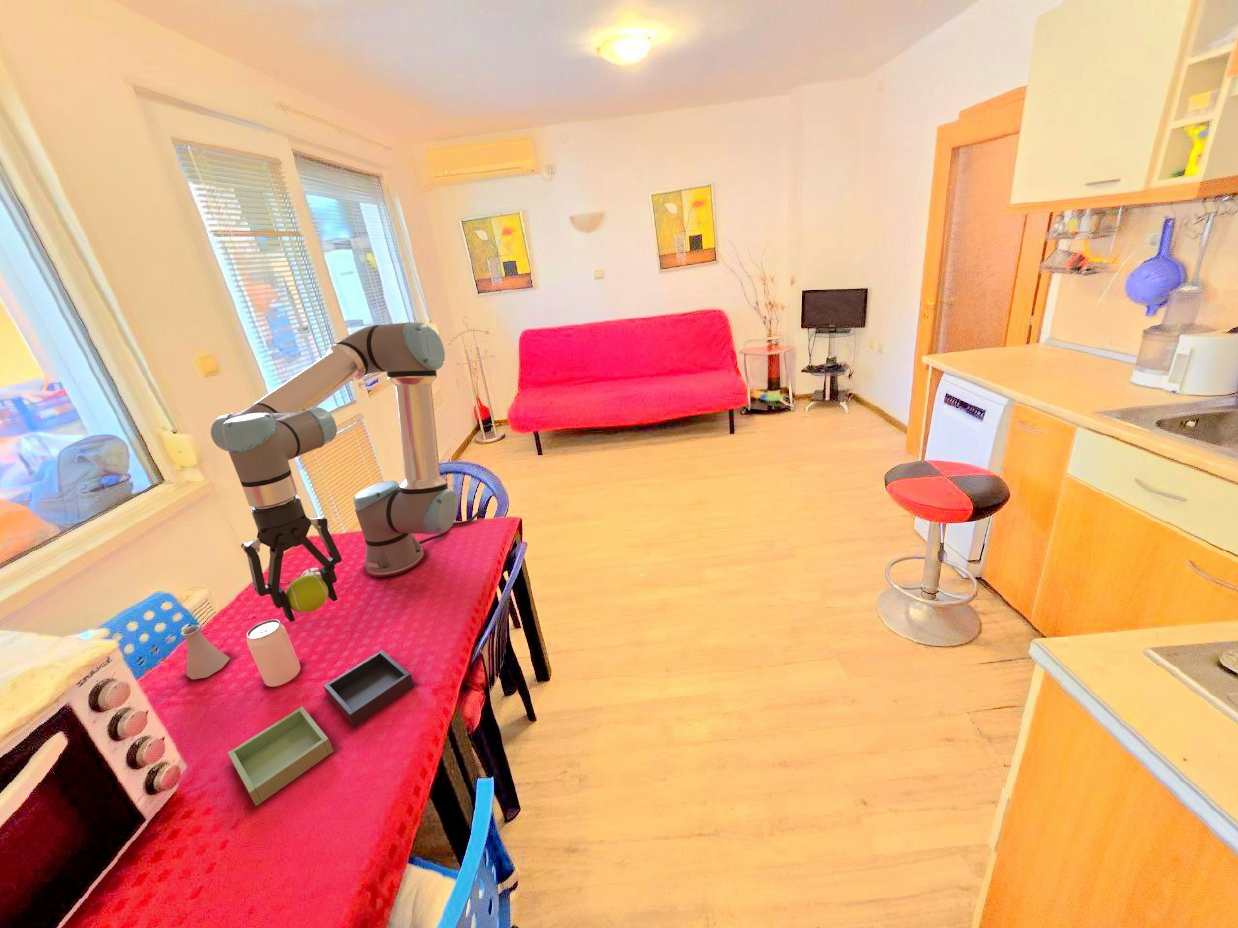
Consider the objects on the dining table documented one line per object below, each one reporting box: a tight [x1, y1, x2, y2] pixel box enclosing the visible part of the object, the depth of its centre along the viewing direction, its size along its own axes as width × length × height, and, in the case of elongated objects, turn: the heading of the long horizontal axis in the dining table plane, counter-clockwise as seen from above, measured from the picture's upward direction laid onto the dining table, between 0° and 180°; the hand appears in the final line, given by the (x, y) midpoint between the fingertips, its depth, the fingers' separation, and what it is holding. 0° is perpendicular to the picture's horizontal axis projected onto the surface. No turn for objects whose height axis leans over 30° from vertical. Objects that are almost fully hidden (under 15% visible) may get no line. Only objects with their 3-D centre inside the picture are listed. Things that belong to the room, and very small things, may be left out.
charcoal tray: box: [323, 649, 415, 728], centre depth 97 cm, size 12×12×3 cm
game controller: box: [282, 567, 322, 584], centre depth 136 cm, size 6×12×3 cm, turn 121°
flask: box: [180, 624, 231, 680], centre depth 106 cm, size 7×7×10 cm
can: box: [246, 619, 302, 688], centre depth 101 cm, size 6×6×12 cm
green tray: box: [227, 706, 334, 807], centre depth 84 cm, size 12×12×3 cm
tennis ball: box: [285, 575, 329, 614], centre depth 97 cm, size 7×7×7 cm
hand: (312, 607), depth 98 cm, fingers closed on tennis ball, 7 cm apart
